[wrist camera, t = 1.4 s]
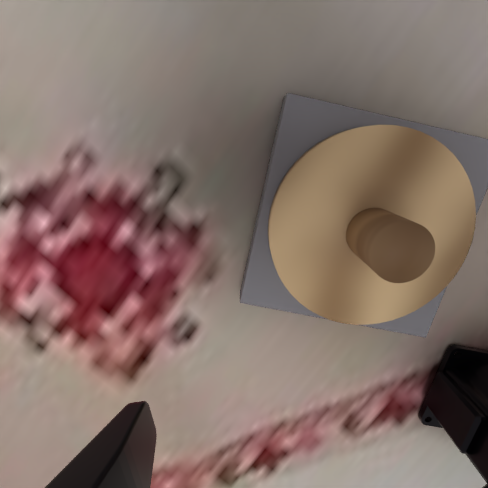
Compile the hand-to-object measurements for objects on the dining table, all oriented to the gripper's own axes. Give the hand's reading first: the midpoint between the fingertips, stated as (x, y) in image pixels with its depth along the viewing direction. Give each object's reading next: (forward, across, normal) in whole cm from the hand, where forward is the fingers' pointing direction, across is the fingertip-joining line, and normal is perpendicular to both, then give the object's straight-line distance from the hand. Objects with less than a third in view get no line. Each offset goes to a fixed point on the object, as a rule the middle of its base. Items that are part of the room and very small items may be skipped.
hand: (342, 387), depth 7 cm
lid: (+12, -5, 0) cm, 13 cm away
